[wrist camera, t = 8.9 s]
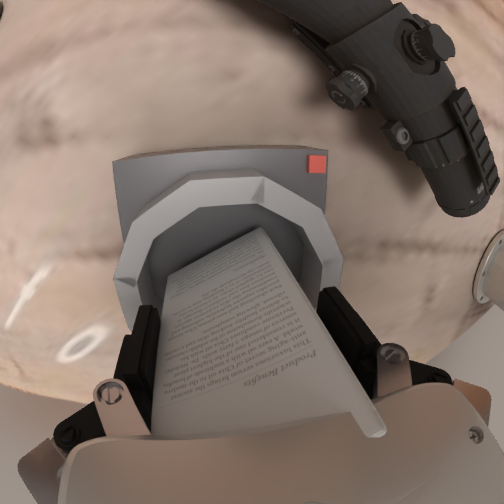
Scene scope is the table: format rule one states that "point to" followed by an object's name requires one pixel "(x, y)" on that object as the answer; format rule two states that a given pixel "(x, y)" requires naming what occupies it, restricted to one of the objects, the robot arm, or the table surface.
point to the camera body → (221, 214)
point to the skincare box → (247, 349)
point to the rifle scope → (402, 90)
